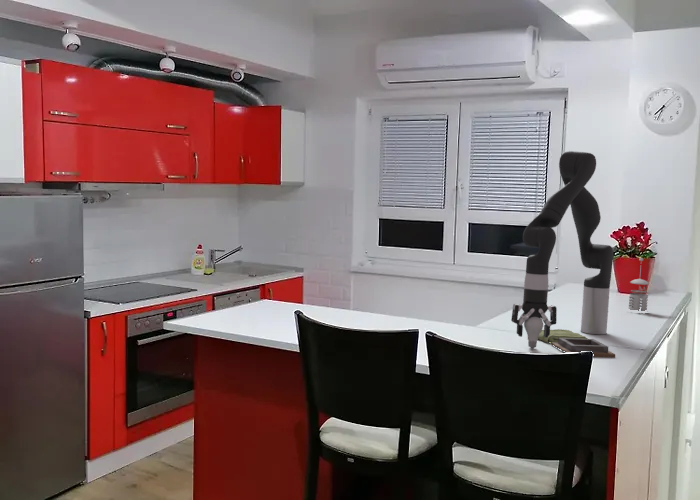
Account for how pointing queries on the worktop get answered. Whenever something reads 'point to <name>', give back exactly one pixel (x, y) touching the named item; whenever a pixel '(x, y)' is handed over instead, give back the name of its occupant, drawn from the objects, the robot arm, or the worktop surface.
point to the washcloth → (559, 335)
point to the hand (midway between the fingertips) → (532, 336)
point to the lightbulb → (533, 330)
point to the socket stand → (583, 346)
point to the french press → (638, 295)
